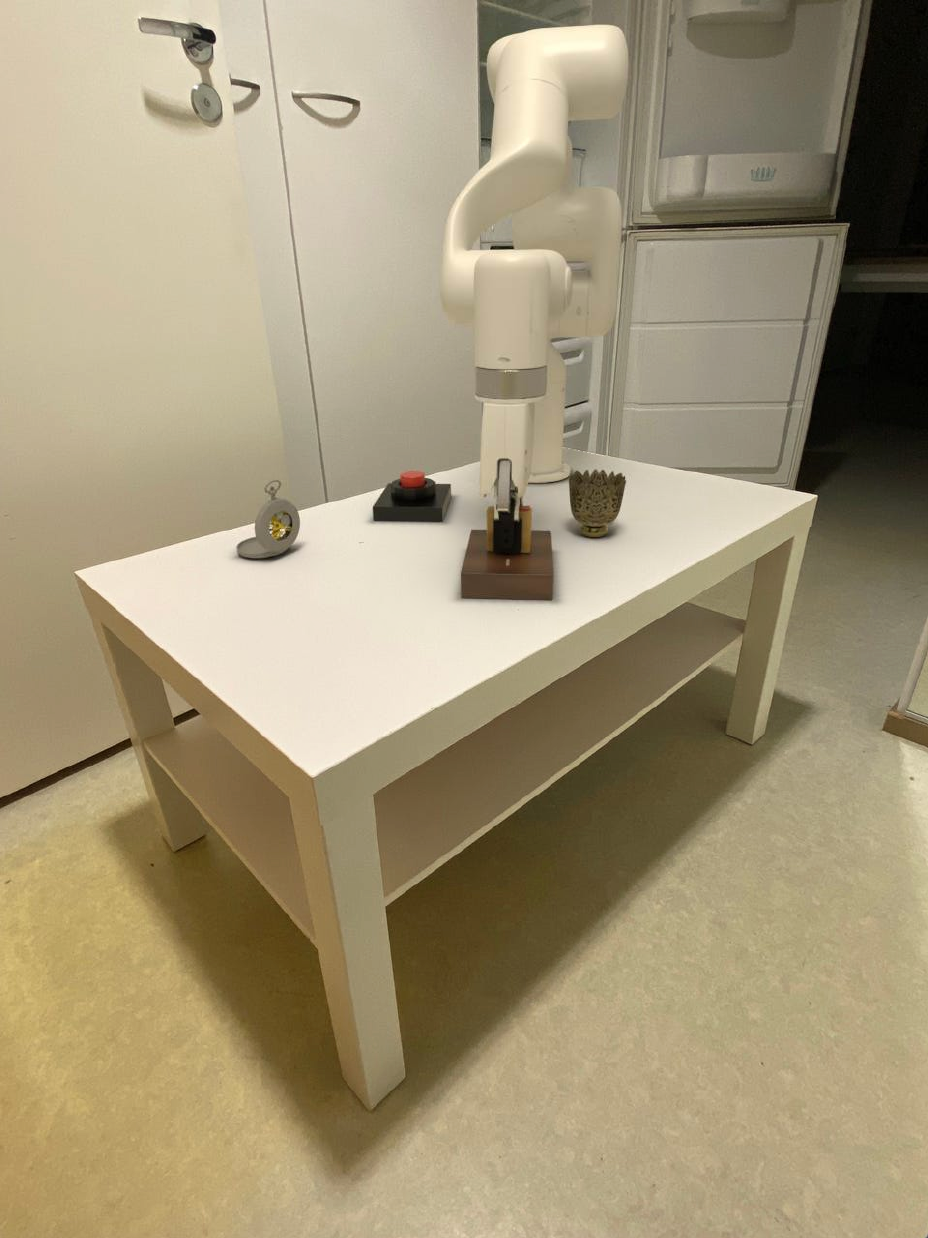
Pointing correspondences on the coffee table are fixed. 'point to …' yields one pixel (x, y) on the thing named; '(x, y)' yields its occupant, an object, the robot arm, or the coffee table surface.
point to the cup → (595, 500)
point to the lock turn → (526, 528)
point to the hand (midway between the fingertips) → (508, 547)
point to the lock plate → (508, 570)
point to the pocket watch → (280, 517)
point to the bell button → (412, 479)
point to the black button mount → (412, 502)
